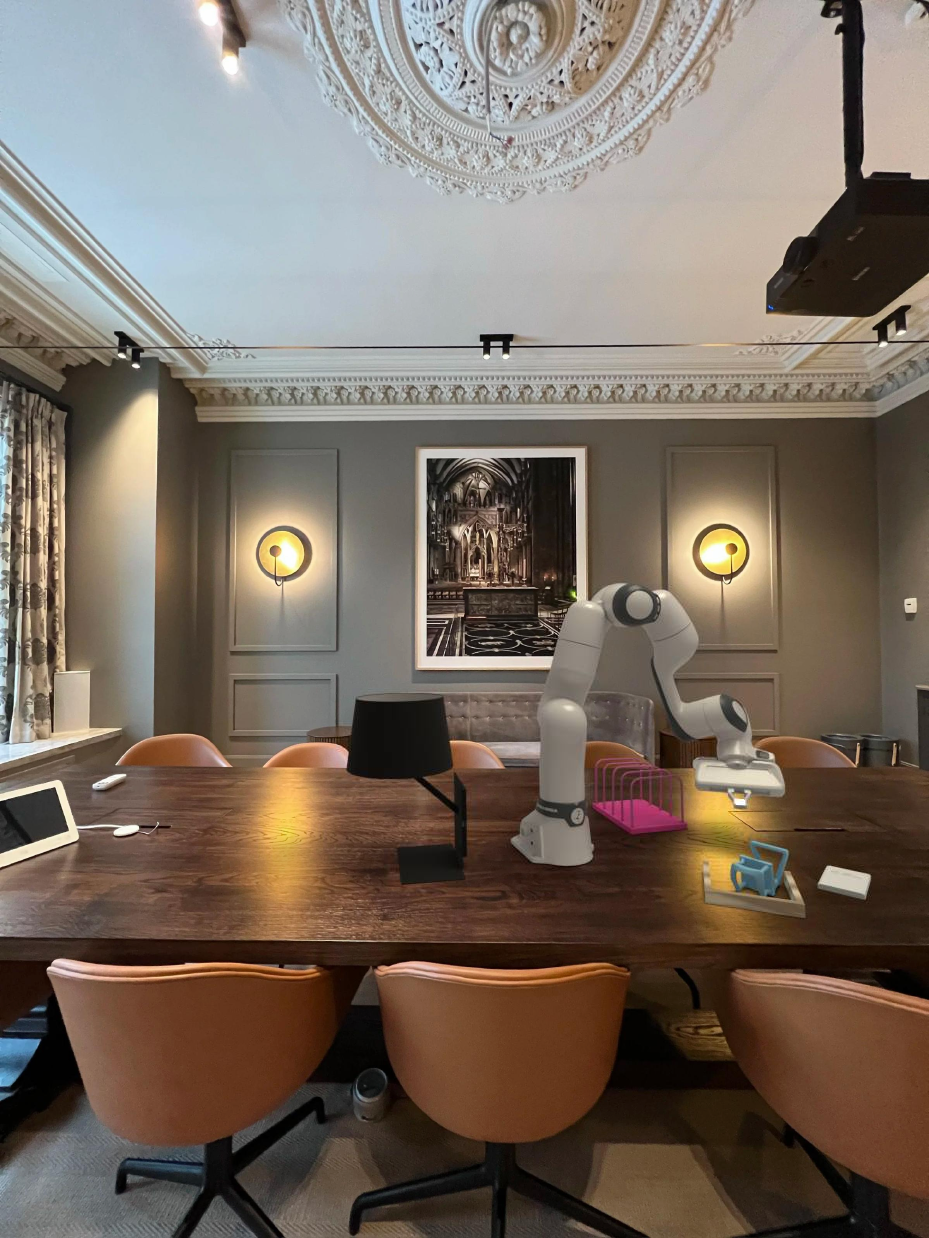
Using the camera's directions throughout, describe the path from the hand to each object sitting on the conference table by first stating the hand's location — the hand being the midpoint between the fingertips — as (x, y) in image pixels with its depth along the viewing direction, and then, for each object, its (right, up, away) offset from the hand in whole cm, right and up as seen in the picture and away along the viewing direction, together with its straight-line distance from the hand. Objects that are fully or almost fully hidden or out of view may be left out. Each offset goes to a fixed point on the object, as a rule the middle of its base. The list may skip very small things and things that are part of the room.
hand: (740, 807), depth 133 cm
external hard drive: (+16, -12, -14) cm, 24 cm away
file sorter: (-15, -14, +32) cm, 38 cm away
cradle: (-7, -12, -18) cm, 22 cm away
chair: (0, -8, -13) cm, 15 cm away
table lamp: (-81, -13, -1) cm, 82 cm away
